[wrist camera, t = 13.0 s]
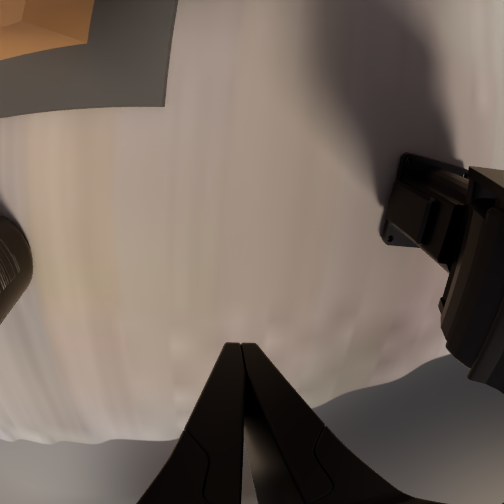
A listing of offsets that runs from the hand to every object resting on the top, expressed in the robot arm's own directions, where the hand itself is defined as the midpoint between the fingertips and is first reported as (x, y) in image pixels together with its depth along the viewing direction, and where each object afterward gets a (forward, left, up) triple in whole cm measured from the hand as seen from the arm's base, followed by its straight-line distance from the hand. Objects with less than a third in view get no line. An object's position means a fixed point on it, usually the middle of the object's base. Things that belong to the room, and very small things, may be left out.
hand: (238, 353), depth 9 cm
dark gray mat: (+12, -13, -12) cm, 21 cm away
